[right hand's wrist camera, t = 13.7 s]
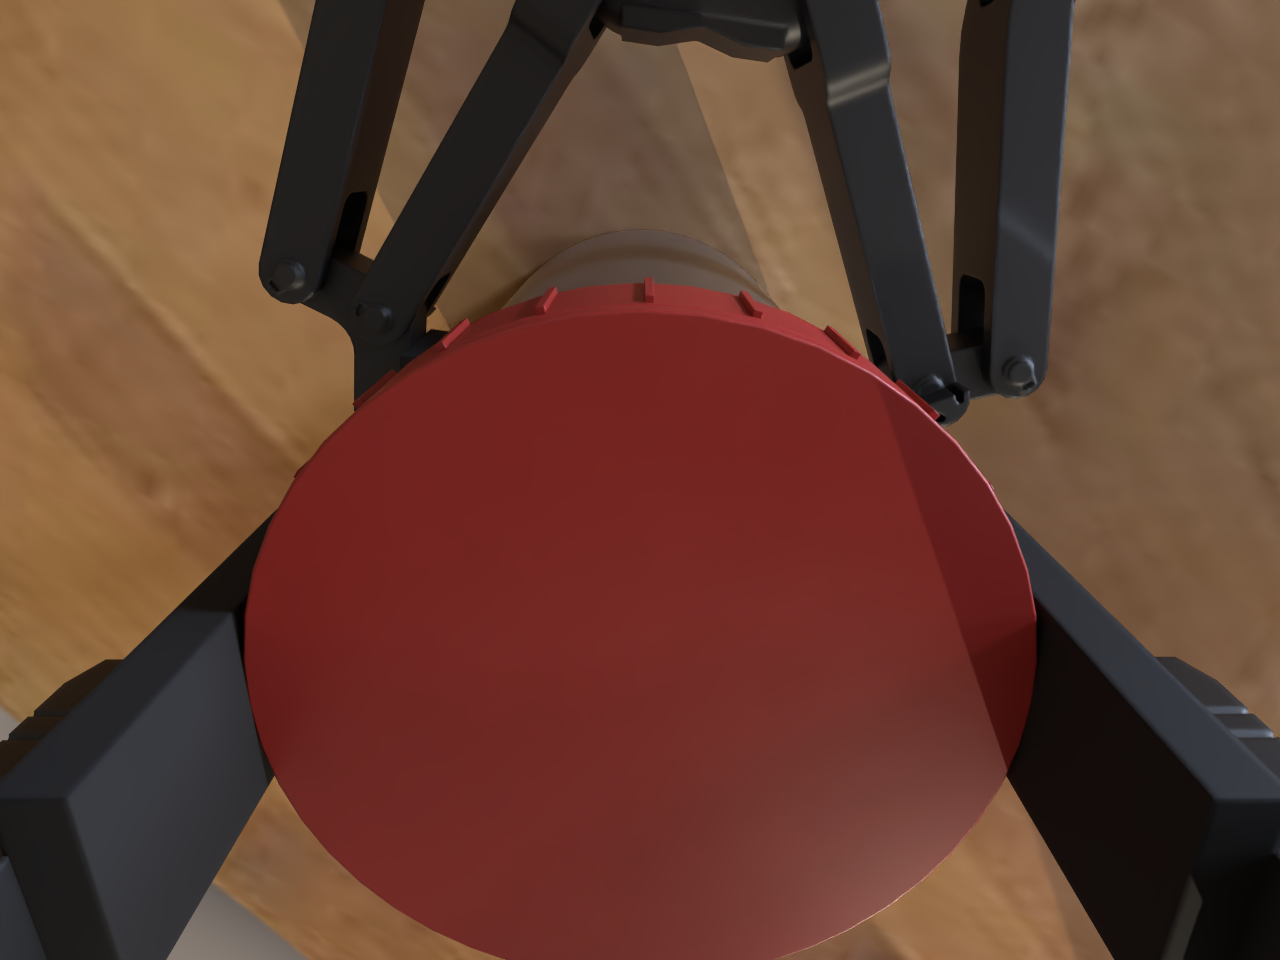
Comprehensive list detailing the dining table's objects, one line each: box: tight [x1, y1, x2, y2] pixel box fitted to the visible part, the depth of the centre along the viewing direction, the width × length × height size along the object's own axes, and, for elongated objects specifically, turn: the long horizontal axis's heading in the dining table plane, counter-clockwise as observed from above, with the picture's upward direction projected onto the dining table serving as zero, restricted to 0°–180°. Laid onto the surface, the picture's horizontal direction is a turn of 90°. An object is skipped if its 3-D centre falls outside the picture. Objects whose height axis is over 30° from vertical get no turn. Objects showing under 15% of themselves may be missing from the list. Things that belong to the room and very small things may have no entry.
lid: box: [243, 277, 1037, 960], centre depth 12 cm, size 10×10×2 cm
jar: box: [500, 230, 781, 310], centre depth 18 cm, size 9×9×15 cm
